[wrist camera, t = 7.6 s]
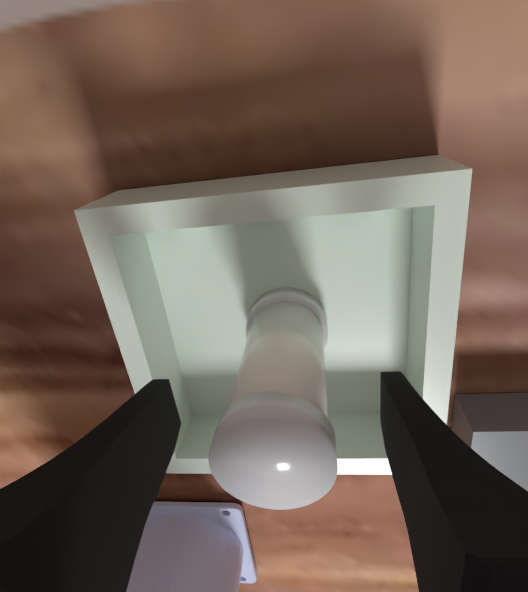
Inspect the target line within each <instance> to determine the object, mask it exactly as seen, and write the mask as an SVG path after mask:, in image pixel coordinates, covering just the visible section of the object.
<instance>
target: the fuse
mask: <svg viewBox="0 0 528 592" xmlns="http://www.w3.org/2000/svg"><path fill="white" fill-rule="evenodd" d="M246 339H247V341H246V345H245V349H244V352H243V356H242V360H241V363H240V367H239V371H238V374H237V378H236V382H235V385H234V389H233V393H232V396H231V400H230V404H229V406H228V407H227V408H226V409H225V410H224V411H223V413H222V414H221V416H220V418H219V420H218V423H217V426H216V429H215V433H214V436H213V440H212V443H211V446H210V450H209V456H208V460H209V466H210V470H211V472H212V475H213V476H214V478H215V480H216V481H217V482H218V483H219V485H220V486H221V487H222V488H223V489H224V490H225V491H227V492H228V493H229V494H231V495H232V496H234V497H235V498H237V499H239V500H241V501H243V502H245V503H248V504H250V505H253V506H257V507H261V508H266V509H276V510H284V509H294V508H299V507H303V506H306V505H309V504H311V503H313V502H315V501H317V500H319V499H320V498H322V497H323V496H324V495H325V494H326V493H327V492H328V491H329V490H330V489H331V488H332V486H333V484H334V482H335V480H336V477H337V470H338V468H337V454H336V440H335V433H334V429H333V427H332V424H331V423H330V421H329V419H328V417H327V397H326V377H325V357H324V348H325V346H326V344H327V340H328V327H327V316H326V313H325V310H324V308H323V306H322V305H321V303H320V302H319V301H318V300H317V299H316V298H315V297H314V296H312V295H311V294H309V293H308V292H306V291H303V290H301V289H297V288H291V287H283V288H276V289H273V290H270V291H268V292H266V293H264V294H263V295H261V296H260V297H259V298H258V299H257V300H256V301H255V303H254V304H253V306H252V308H251V310H250V314H249V317H248V321H247V324H246Z"/></svg>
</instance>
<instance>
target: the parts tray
mask: <svg viewBox="0 0 528 592" xmlns="http://www.w3.org/2000/svg"><path fill="white" fill-rule="evenodd" d="M471 177H472V168H469V167H467V166H465V165H462V164H460V163H457V162H455V161H453V160H450V159H448V158H445V157H443V156H440V155H432V156H423V157H414V158H405V159H396V160H387V161H378V162H369V163H360V164H351V165H342V166H333V167H324V168H315V169H306V170H297V171H288V172H279V173H270V174H261V175H252V176H243V177H234V178H225V179H216V180H207V181H198V182H189V183H180V184H171V185H162V186H153V187H144V188H135V189H126V190H118V191H116V192H113V193H111V194H109V195H107V196H105V197H102V198H100V199H98V200H96V201H94V202H91V203H89V204H87V205H85V206H83V207H80V208H78V209H76V210H74V212H75V215H76V218H77V221H78V224H79V227H80V230H81V233H82V236H83V239H84V242H85V245H86V248H87V251H88V254H89V258H90V261H91V264H92V267H93V270H94V273H95V276H96V279H97V282H98V285H99V288H100V291H101V294H102V297H103V300H104V303H105V306H106V309H107V312H108V315H109V318H110V321H111V324H112V327H113V330H114V333H115V336H116V339H117V342H118V345H119V348H120V351H121V354H122V357H123V360H124V363H125V366H126V369H127V372H128V375H129V378H130V381H131V384H132V387H133V390H134V393H135V394H136V393H137V392H138V391H139V390H140V389H141V388H143V387H144V386H145V385H146V384H147V383H149V382H150V381H151V380H153V379H169V381H170V384H171V388H172V392H173V395H174V399H175V402H176V406H177V409H178V413H179V417H180V420H181V427H180V431H179V435H178V439H177V443H176V447H175V450H174V453H173V456H172V458H171V461H170V463H169V466H168V468H167V471H166V473H180V474H212V472H211V470H210V466H209V460H208V456H209V450H210V446H211V443H212V440H213V436H214V433H215V429H216V426H217V423H218V420H219V418H220V416H221V414H222V413H223V411H224V410H225V409H226V408H227V407H228V406H229V404H230V400H231V396H232V393H233V389H234V385H235V382H236V378H237V374H238V371H239V367H240V363H241V360H242V356H243V352H244V349H245V345H246V341H247V339H246V324H247V321H248V317H249V314H250V310H251V308H252V306H253V304H254V303H255V301H256V300H257V299H258V298H259V297H260V296H261V295H263V294H264V293H266V292H268V291H270V290H273V289H276V288H283V287H291V288H297V289H301V290H303V291H306V292H308V293H309V294H311V295H312V296H314V297H315V298H316V299H317V300H318V301H319V302H320V303H321V305H322V306H323V308H324V310H325V313H326V316H327V327H328V340H327V344H326V346H325V348H324V357H325V377H326V397H327V417H328V419H329V421H330V423H331V424H332V427H333V429H334V433H335V440H336V454H337V468H338V470H337V474H371V475H392V472H391V469H390V465H389V462H388V458H387V455H386V451H385V446H384V440H383V434H382V428H381V422H380V373H381V372H393V371H400V372H402V373H403V374H404V376H405V377H406V378H407V380H408V381H409V382H410V384H411V385H412V386H413V387H414V389H415V390H416V391H417V392H418V394H419V395H420V396H421V397H422V398H423V400H424V401H425V402H426V403H427V404H428V405H429V406H430V408H431V409H432V410H433V411H434V412H435V413H436V414H437V415H438V416H439V417H440V419H441V420H442V421H443V422H444V423H445V424H446V425H447V417H448V407H449V397H450V387H451V377H452V367H453V357H454V347H455V337H456V327H457V317H458V307H459V297H460V287H461V277H462V267H463V257H464V247H465V237H466V227H467V217H468V207H469V197H470V187H471Z"/></svg>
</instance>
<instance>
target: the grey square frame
mask: <svg viewBox="0 0 528 592" xmlns="http://www.w3.org/2000/svg"><path fill="white" fill-rule="evenodd" d="M451 430H452V431H453V432H454V433H455V434H456V435H457V436H458V437H460V438H461V439H462V440H463V441H464V442H465V443H466V444H467V445H468V446H469V447H470V448H472V449H473V450H474V451H475V452H476V453H477V454H479V455H480V456H481V457H482V458H483V459H485V460H486V461H487V462H488V463H490V464H491V465H492V466H493V467H495V468H496V469H497V470H499V471H500V472H501V473H503V474H504V475H506V476H507V477H508V478H510V479H511V480H513V481H514V482H515V483H517V484H518V485H520V486H521V487H522V488H524V489H525V490H527V491H528V393H487V394H455V398H454V407H453V416H452V426H451Z"/></svg>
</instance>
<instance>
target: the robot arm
mask: <svg viewBox="0 0 528 592" xmlns="http://www.w3.org/2000/svg"><path fill="white" fill-rule="evenodd" d="M380 422H381V428H382V434H383V440H384V446H385V451H386V455H387V458H388V462H389V465H390V469H391V472H392V476H393V479H394V483H395V486H396V490H397V493H398V497H399V500H400V503H401V507H402V510H403V514H404V518H405V522H406V526H407V530H408V534H409V540H410V545H411V550H412V555H413V561H414V566H415V571H416V577H417V582H418V588H419V592H528V491H527V490H525V489H524V488H522V487H521V486H520V485H518V484H517V483H515V482H514V481H513V480H511V479H510V478H508V477H507V476H506V475H504V474H503V473H501V472H500V471H499V470H497V469H496V468H495V467H493V466H492V465H491V464H490V463H488V462H487V461H486V460H485V459H483V458H482V457H481V456H480V455H479V454H477V453H476V452H475V451H474V450H473V449H472V448H470V447H469V446H468V445H467V444H466V443H465V442H464V441H463V440H462V439H461V438H460V437H458V436H457V435H456V434H455V433H454V432H453V431H452V430H451V429H450V428H449V427H448V426H447V425H446V424H445V423H444V422H443V421H442V420H441V419H440V417H439V416H438V415H437V414H436V413H435V412H434V411H433V410H432V409H431V408H430V406H429V405H428V404H427V403H426V402H425V401H424V400H423V398H422V397H421V396H420V395H419V394H418V392H417V391H416V390H415V389H414V387H413V386H412V385H411V384H410V382H409V381H408V380H407V378H406V377H405V376H404V374H403V373H402V372H400V371H393V372H381V373H380ZM180 427H181V420H180V417H179V413H178V409H177V406H176V402H175V399H174V395H173V392H172V388H171V384H170V381H169V379H153V380H151V381H150V382H149V383H147V384H146V385H145V386H144V387H143V388H141V389H140V390H139V391H138V392H137V393H136V394H135V395H133V396H132V397H131V398H130V399H129V400H128V401H127V402H125V403H124V404H123V405H122V406H121V407H120V408H119V409H117V410H116V411H115V412H114V413H113V414H112V415H110V416H109V417H108V418H107V419H106V420H104V421H103V422H102V423H101V424H99V425H98V426H97V427H96V428H94V429H93V430H92V431H90V432H89V433H88V434H87V435H85V436H84V437H83V438H82V439H80V440H79V441H78V442H76V443H75V444H73V445H72V446H71V447H69V448H68V449H66V450H65V451H63V452H62V453H60V454H59V455H57V456H56V457H55V458H53V459H51V460H50V461H48V462H47V463H45V464H43V465H42V466H40V467H38V468H37V469H35V470H33V471H32V472H30V473H28V474H27V475H25V476H23V477H22V478H20V479H18V480H16V481H15V482H13V483H11V484H9V485H7V486H5V487H3V488H1V489H0V592H239V585H240V583H254V582H256V579H257V572H256V567H255V563H254V558H253V554H252V549H251V545H250V540H249V536H248V531H247V526H246V522H245V517H244V513H243V508H242V506H241V505H239V504H237V503H219V502H159V501H154V500H155V498H156V495H157V493H158V490H159V488H160V486H161V483H162V481H163V478H164V476H165V473H166V471H167V468H168V466H169V463H170V461H171V458H172V456H173V453H174V450H175V447H176V443H177V439H178V435H179V431H180Z"/></svg>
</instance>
